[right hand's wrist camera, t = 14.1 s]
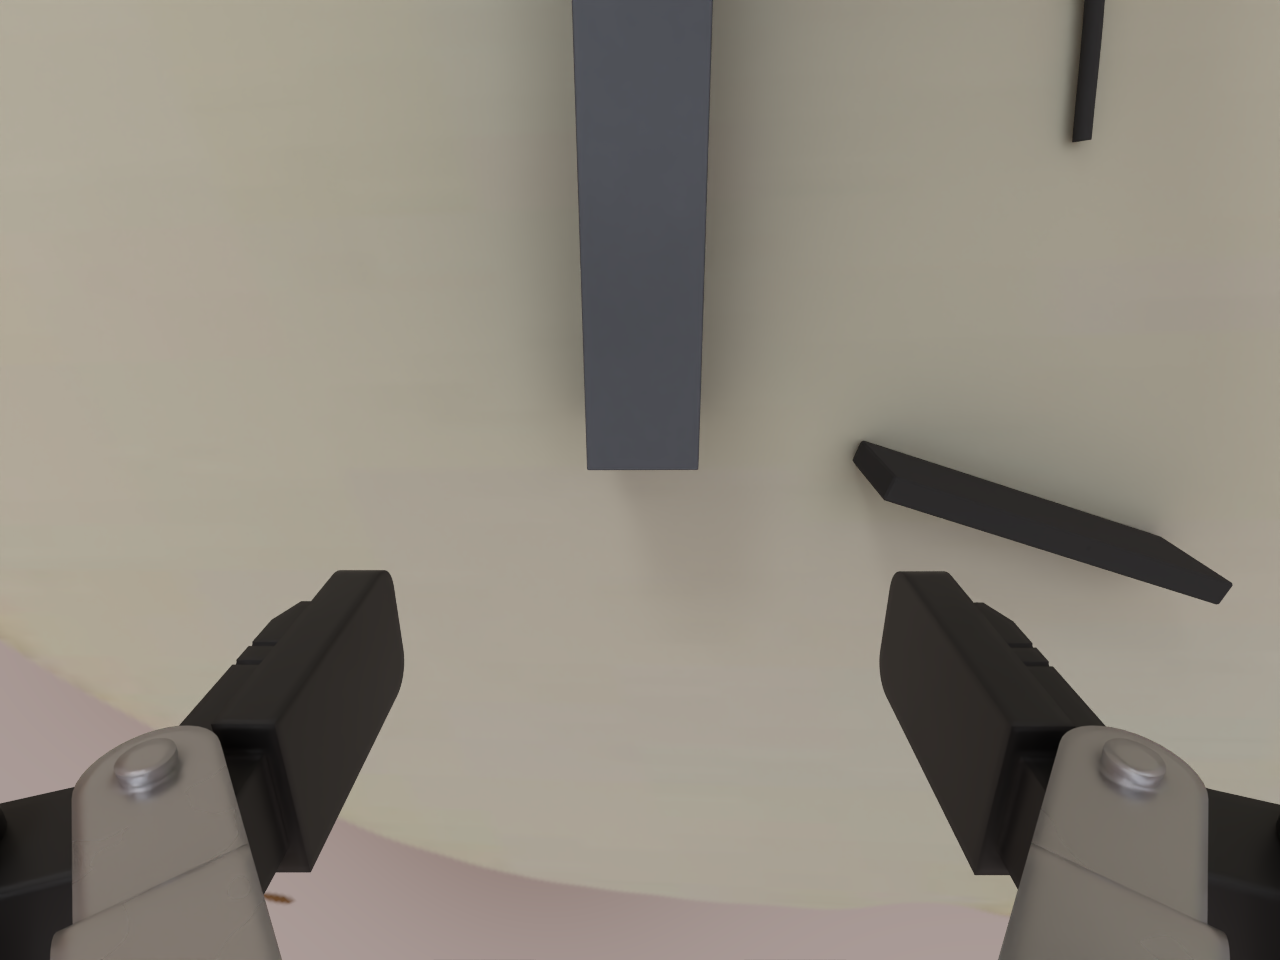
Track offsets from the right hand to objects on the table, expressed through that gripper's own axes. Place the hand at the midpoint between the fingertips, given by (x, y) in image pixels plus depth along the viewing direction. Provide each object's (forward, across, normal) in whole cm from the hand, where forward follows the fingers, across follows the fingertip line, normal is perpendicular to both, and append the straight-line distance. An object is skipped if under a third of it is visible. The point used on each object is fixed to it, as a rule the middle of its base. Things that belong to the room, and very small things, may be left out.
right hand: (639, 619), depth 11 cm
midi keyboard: (+24, -19, +8) cm, 32 cm away
